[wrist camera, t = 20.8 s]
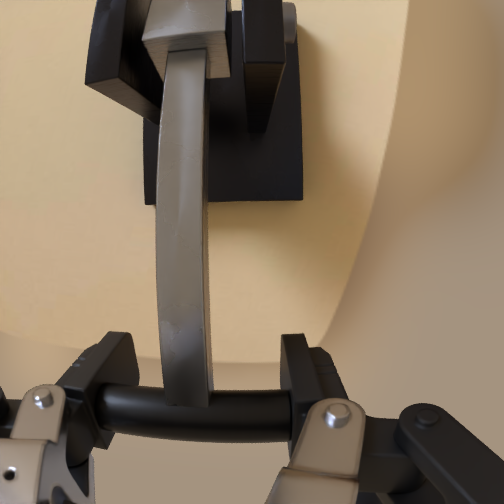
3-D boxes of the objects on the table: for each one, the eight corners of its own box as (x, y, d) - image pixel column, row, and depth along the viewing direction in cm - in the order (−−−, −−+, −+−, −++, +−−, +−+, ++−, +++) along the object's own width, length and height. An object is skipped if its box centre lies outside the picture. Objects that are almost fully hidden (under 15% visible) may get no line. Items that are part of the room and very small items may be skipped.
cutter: (300, 199, 19) (374, 226, 7) (150, 203, 19) (27, 236, 7) (292, 19, 16) (329, -110, 5) (154, 27, 16) (77, -82, 5)
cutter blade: (284, 417, 9) (293, 462, 6) (124, 411, 9) (93, 447, 6) (272, 17, 9) (275, -30, 6) (134, 29, 9) (113, -11, 6)
